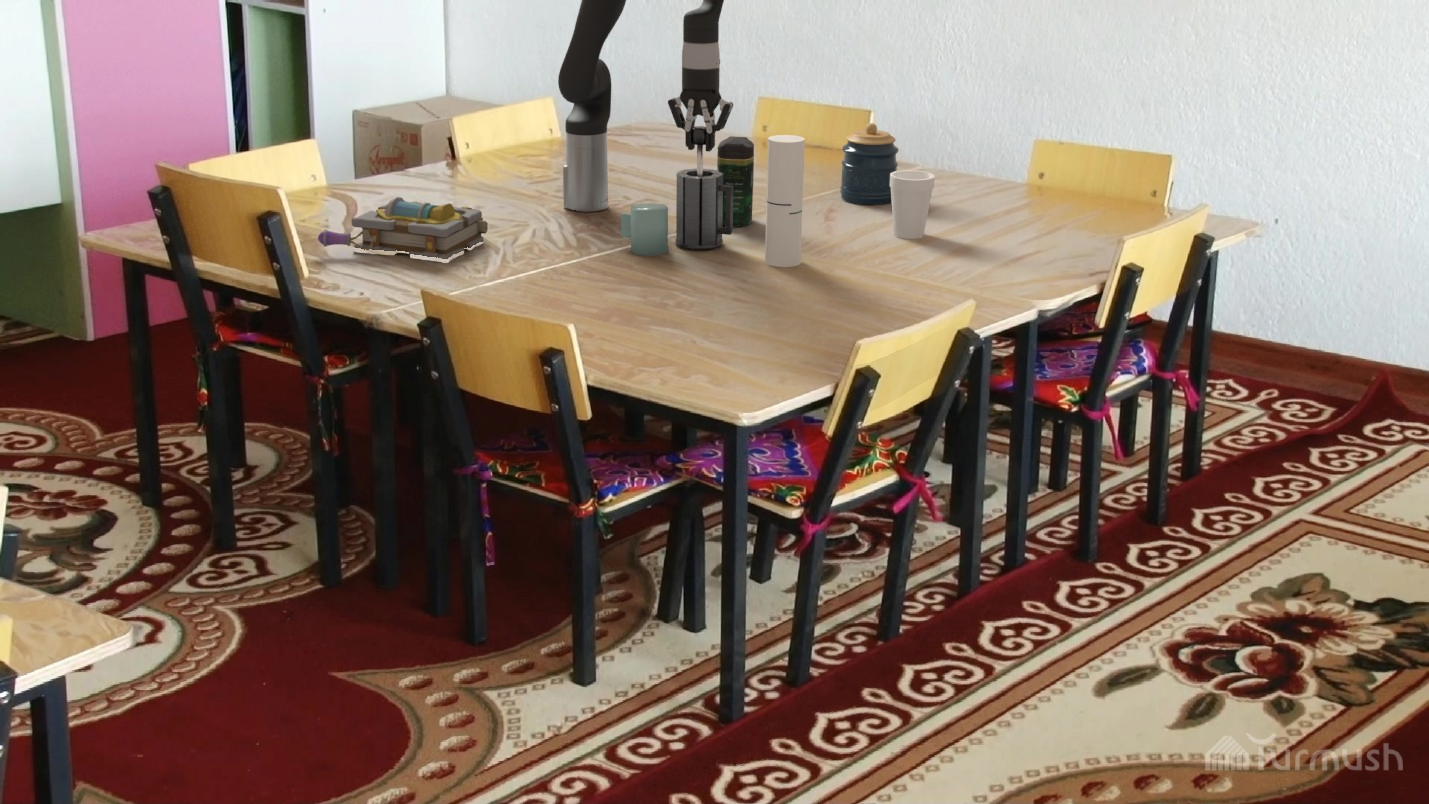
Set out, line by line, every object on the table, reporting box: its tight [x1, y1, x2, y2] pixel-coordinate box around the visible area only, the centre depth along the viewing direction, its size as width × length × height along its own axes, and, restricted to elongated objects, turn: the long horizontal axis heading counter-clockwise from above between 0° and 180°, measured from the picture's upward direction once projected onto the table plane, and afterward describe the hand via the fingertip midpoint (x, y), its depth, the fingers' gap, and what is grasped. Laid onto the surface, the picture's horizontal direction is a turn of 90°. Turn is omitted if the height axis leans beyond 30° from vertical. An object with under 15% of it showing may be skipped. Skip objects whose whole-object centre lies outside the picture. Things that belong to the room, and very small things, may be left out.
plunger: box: [692, 125, 707, 177], centre depth 322 cm, size 4×4×18 cm
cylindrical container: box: [764, 134, 806, 268], centre depth 312 cm, size 7×7×25 cm
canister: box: [840, 122, 900, 206], centre depth 363 cm, size 13×13×18 cm
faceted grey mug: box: [675, 168, 734, 252], centre depth 325 cm, size 12×10×15 cm
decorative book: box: [317, 196, 489, 259], centre depth 321 cm, size 25×27×11 cm
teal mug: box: [620, 202, 669, 257], centre depth 322 cm, size 10×8×9 cm
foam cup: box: [890, 169, 935, 240], centre depth 335 cm, size 10×9×13 cm
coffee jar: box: [716, 135, 755, 228], centre depth 342 cm, size 10×8×19 cm
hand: (700, 149), depth 321 cm, fingers closed on plunger, 3 cm apart
